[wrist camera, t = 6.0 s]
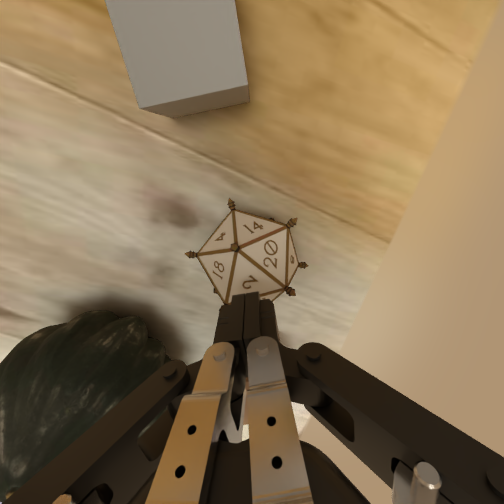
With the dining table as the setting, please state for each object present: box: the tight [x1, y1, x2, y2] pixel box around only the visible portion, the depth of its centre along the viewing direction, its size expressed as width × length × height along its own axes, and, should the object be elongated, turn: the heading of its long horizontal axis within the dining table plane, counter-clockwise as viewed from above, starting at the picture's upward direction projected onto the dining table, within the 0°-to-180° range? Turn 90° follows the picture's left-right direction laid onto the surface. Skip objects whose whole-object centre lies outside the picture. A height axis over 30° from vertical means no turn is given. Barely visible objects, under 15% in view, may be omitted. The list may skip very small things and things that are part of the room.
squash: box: [0, 311, 172, 503], centre depth 23 cm, size 14×15×15 cm
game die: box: [185, 198, 308, 311], centre depth 19 cm, size 9×8×10 cm
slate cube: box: [105, 0, 250, 118], centre depth 15 cm, size 6×6×6 cm
